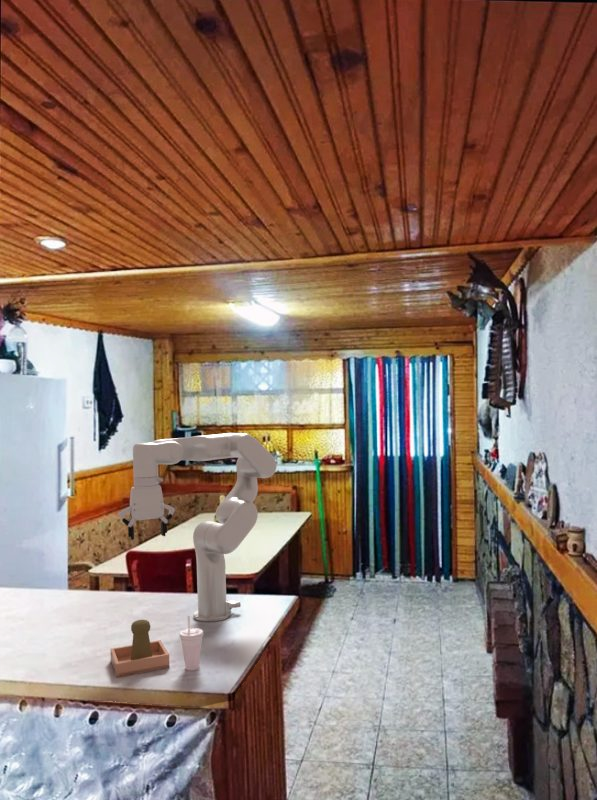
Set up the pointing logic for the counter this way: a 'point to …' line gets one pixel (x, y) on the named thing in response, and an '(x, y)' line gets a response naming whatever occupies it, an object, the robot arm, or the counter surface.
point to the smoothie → (191, 646)
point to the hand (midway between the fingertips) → (147, 537)
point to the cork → (140, 640)
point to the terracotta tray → (139, 660)
